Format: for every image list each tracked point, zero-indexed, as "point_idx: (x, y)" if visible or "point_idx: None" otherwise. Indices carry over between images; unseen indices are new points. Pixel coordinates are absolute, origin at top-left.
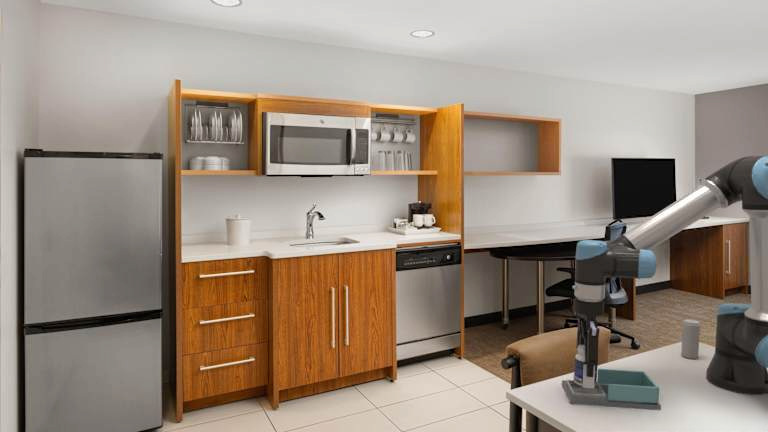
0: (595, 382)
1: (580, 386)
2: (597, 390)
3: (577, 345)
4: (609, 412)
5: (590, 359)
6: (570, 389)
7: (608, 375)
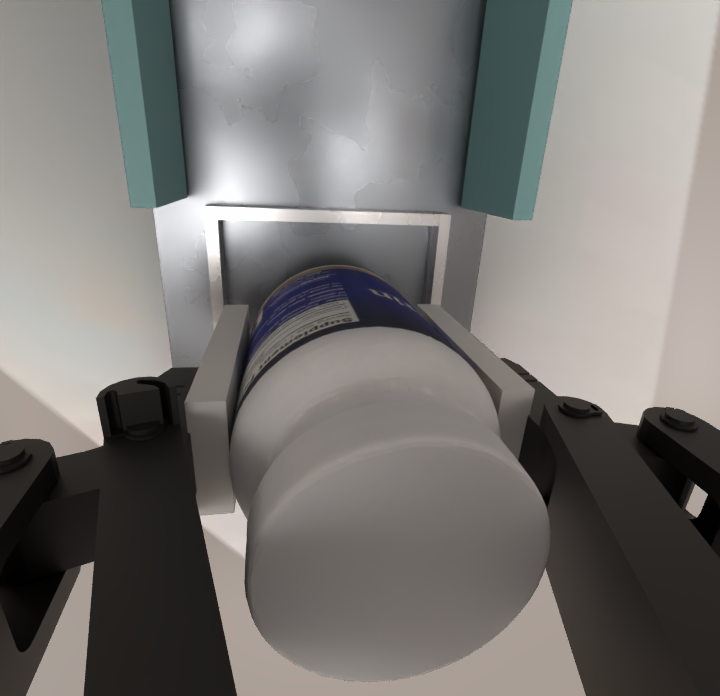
0: (395, 289)
1: None
2: (312, 233)
3: (60, 597)
4: (548, 225)
5: (716, 527)
6: None
7: (160, 93)
